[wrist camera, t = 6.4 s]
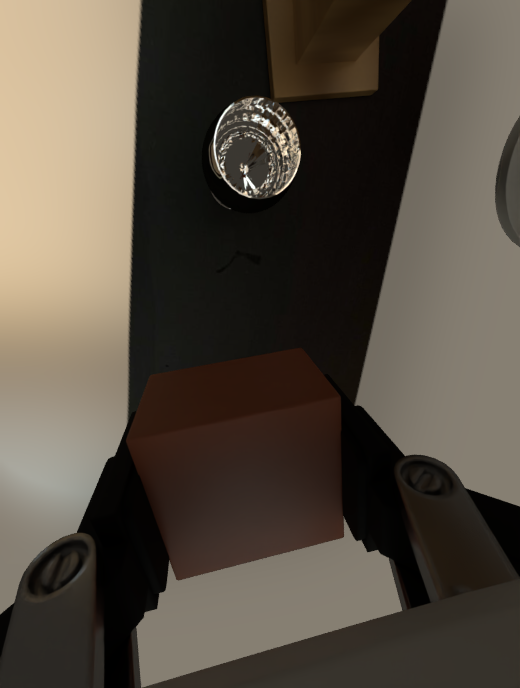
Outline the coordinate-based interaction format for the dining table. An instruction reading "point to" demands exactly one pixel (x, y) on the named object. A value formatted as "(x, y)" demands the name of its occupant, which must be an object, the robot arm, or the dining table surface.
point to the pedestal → (325, 46)
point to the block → (240, 459)
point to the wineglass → (251, 154)
